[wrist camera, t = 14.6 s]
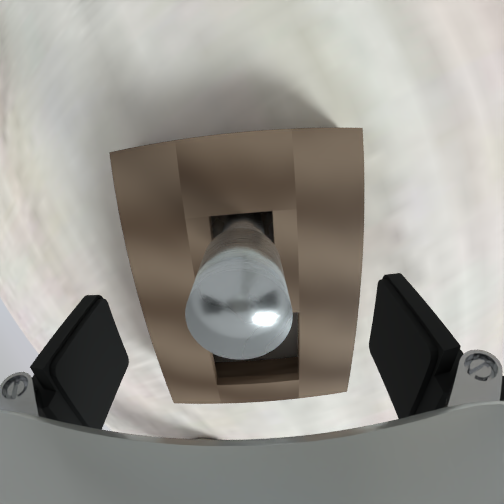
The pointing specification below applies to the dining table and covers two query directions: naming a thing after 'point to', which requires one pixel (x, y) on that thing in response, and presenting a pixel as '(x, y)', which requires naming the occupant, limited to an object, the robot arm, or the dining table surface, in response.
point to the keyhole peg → (240, 290)
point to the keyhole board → (285, 239)
